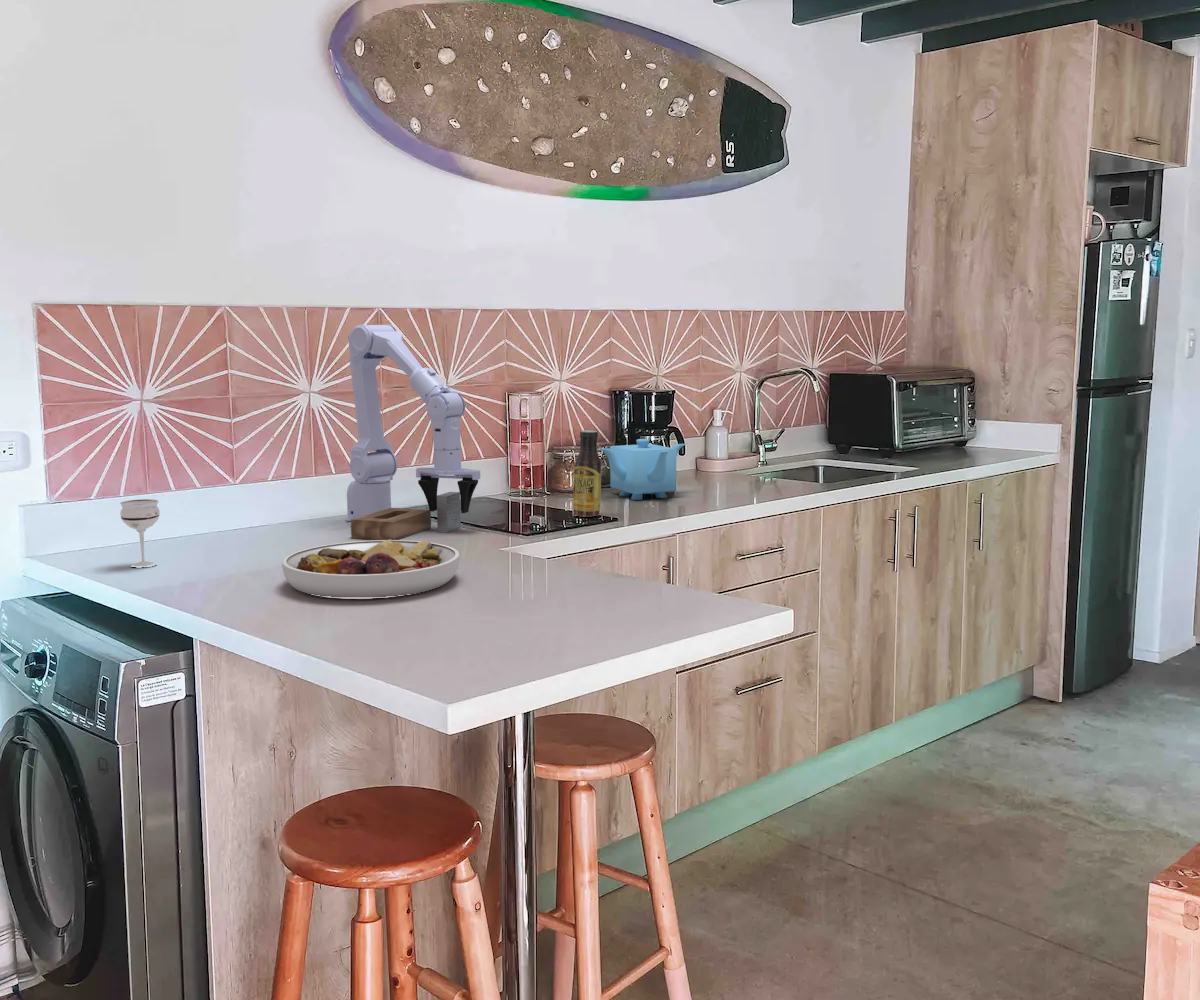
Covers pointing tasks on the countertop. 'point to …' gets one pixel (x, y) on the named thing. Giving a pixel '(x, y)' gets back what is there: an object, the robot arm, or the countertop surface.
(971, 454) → the countertop surface
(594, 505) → the sauce bottle
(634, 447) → the teakettle
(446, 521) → the gray rectangular block
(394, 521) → the wooden slotted block
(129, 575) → the countertop surface
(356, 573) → the bowl
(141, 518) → the wineglass
